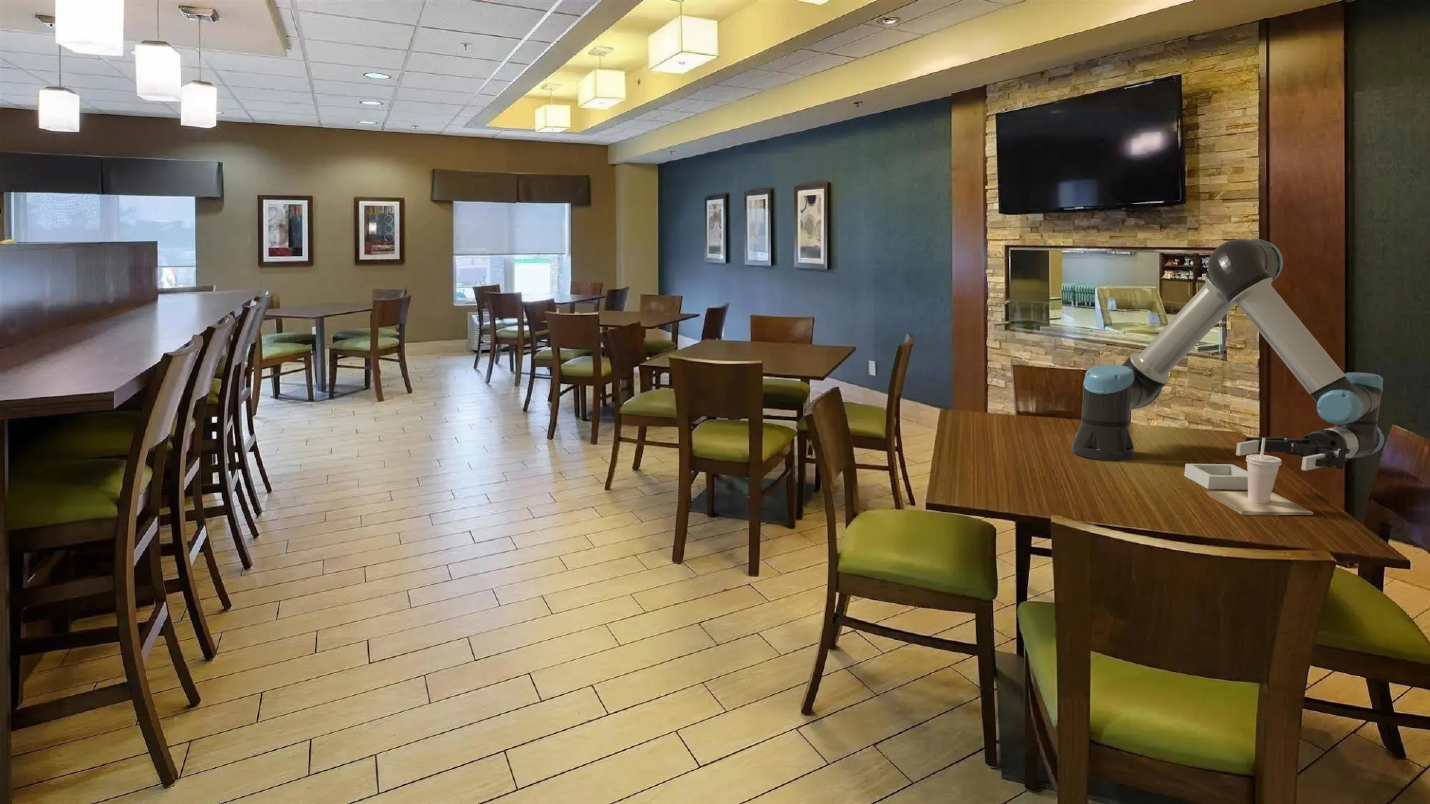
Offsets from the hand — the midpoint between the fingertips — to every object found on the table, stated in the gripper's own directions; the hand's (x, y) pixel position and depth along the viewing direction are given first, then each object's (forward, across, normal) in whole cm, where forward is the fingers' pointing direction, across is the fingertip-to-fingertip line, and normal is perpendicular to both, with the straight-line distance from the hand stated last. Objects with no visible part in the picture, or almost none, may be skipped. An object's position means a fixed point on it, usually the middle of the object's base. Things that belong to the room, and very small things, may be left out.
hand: (1269, 456), depth 173 cm
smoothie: (+2, 0, -10) cm, 10 cm away
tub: (-7, +15, -11) cm, 20 cm away
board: (+2, 0, -11) cm, 11 cm away
